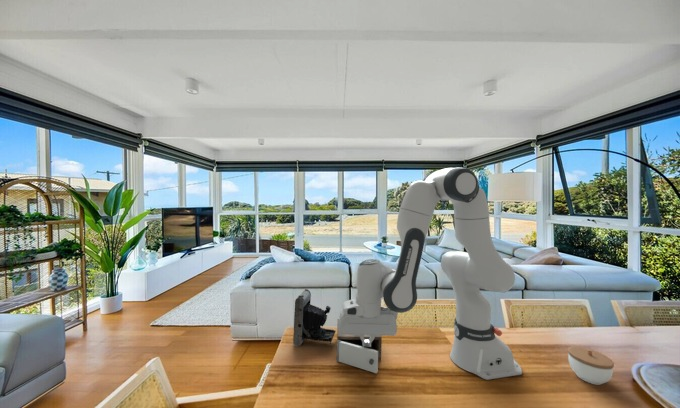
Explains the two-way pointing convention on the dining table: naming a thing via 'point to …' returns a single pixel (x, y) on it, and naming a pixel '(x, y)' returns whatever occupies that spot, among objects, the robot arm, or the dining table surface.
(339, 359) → the door
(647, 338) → the dining table surface
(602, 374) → the lidded jar
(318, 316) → the vintage camera
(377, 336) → the case
